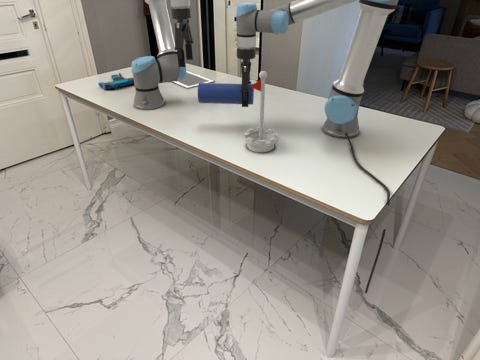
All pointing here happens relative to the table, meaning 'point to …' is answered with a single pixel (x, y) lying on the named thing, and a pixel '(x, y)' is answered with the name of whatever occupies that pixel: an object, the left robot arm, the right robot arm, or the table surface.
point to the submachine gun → (116, 82)
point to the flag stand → (261, 124)
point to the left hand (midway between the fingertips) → (186, 63)
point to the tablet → (192, 80)
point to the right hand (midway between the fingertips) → (245, 102)
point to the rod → (223, 93)
